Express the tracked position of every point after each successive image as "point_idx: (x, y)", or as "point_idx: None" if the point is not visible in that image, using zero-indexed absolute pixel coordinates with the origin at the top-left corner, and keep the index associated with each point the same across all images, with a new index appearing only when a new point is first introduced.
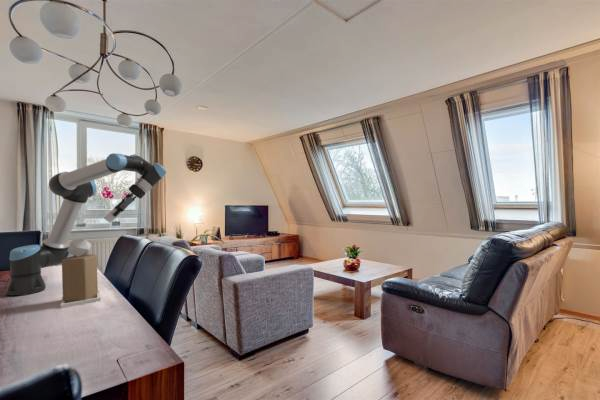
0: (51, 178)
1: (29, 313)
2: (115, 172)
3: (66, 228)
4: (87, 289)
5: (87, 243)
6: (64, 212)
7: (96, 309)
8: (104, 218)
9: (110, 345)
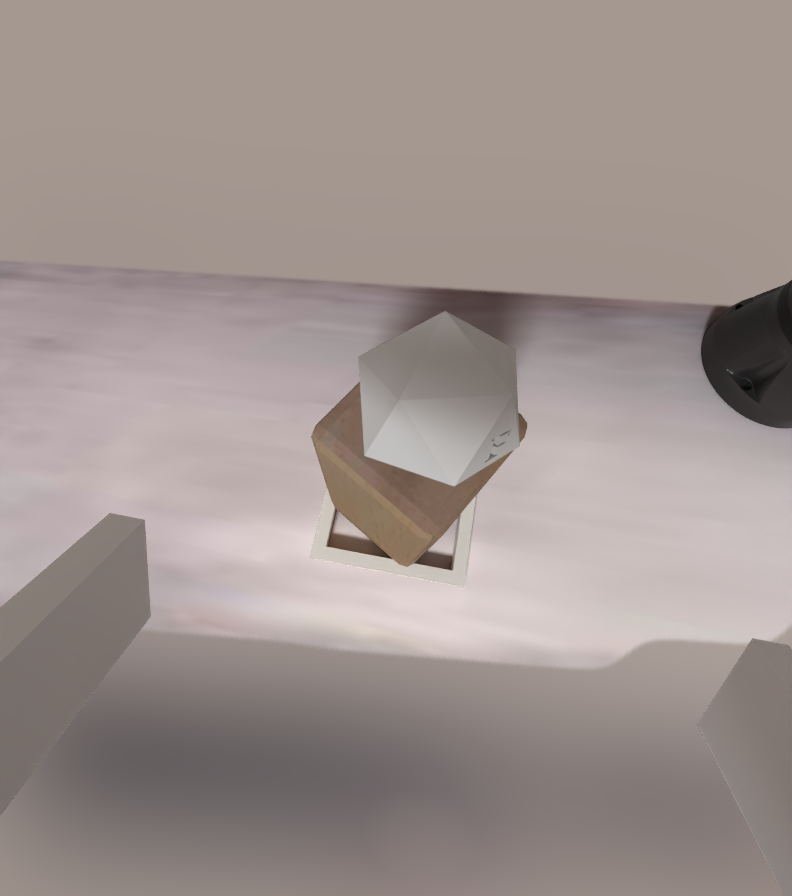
0: None
1: (373, 338)
2: None
3: None
4: (334, 499)
5: (398, 435)
6: None
7: (189, 513)
8: (744, 654)
9: None
